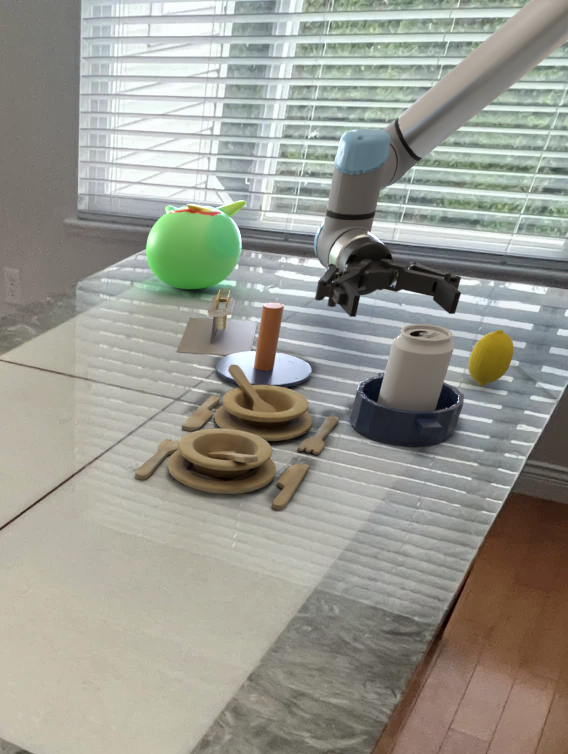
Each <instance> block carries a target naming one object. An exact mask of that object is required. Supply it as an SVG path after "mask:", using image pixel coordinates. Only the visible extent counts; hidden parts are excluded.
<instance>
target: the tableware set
mask: <svg viewBox="0 0 568 754" xmlns="http://www.w3.org/2000/svg"><path fill="white" fill-rule="evenodd" d="M228 371H229V373H230V375H231V376H232V377H233V379H234V380H235V381H236V382H237V384H236V385H238V386H239V387H236V388H232V389H230V390H229V391H227V392H226V393H225V394H224V395H223V397H222V405H221V406H219V407H218V408H217V409H216V410H215V412H214V413H213V412H212V411H211V410H212V409H213V408H215V406H217V405H219V403H220V399H221V398H220V395H219V396H218V395H211V396H208V398H207V399H206V400H205V401H204V402H203V403H202V404H201V405H200V406H199V407H197V409H196V410H195V411H194V412H193V413H192V414H191V415H190V416H189V417H188V418H187V419H186V420H185V421H184V422H183V423H182V424H181V430H183V431H187V432H189V433H187V434H185V435H184V436H183V437H181V438H180V439H179V440H176V439H173V440H172V439H171V438H164V440H162V441H161V442H160V443H159V444H158V445H157V450H158V451H157V452H156V453H154V455H152V456H151V457H150V458H149V459H148V460H146V461H145V462H144V463H143V464H142V465H140V466H139V467H138V468H137V469H136V470H135V472H134V478H135V479H137V480H141V481H142V480H143V481H144V480H148V479H149V477H151V476H152V474H153V473H154V472H155V471H156V469H157V468H158V467H159V466H160V464H161V463H162V462H163V461H164V460H165V459H166V458H167V457H168V456H169V458H168V460H167V468H168V471H169V472H168V473H169V474H170V475H171V476H172V477H173V478H174V479H175V480H177V481H178V482H179V483H181V484H182V485H185V486H186V487H189V488H191V489H194V490H199V491H202V492H206V493H211V494H222V495H231V494H232V495H233V494H234V495H235V494H246V493H251V492H255V491H257V490H259V489H263V488H265V487H266V486H267V485H269V484H270V483H271V482H272V481H273V480H274V478H275V475H276V470H277V468H276V464H275V462H274V461H273V459H272V458H271V457H272V455H273V447H272V446H271V445H270V443H269V442H281V441H287V440H291V439H295V438H297V437H298V438H299V437H300V436H303V435H304V434H306V433H307V432H309V430H310V429H311V428H312V425H313V418H312V416H311V414H310V413H309V412H308V410H309V406H310V404H309V403H310V402H309V401H308V399H307V398H306V396H304V395H303V394H301V393H300V392H298V391H296V390H293V389H290V388H288V387H279V386H272V385H251V383H250V382H249V380H248V379H247V377H246V376H245V374H244V373H243V371H242V370H241V368H240V367H239V366H238V365H234V364H233V365H230V366H229V369H228ZM213 414H214V415H213ZM213 416H214V421H215V423H216V425H217V426H218V427H219V428H204V429H200V428H202V427H203V426H204V425H205V424H206V423H207V422H208V421H209V420H210V419H211V418H212V417H213ZM339 421H340V418H339V417H338V416H334V415H328V416H327V417H326V418H325V419H324V421H323V422H322V423H321V424H320V427H319V428H318V429H317V430H316V433H315V434H314V436H312V437H310V438H306V439H304V440H302V441H301V443H300V444H298V446H297V448H296V449H297V451H299V452H304V451H305V453H307V454H310V453H312V454H313V455H316V456H319V454H321V452H323V450H324V449H325V446H326V445H325V442H324V441H323V440H324V439H325V438H327V437H328V435H329V434H331V432H332V431H333V430H334V429H335V428H336V427H337V425H338V424H339ZM309 468H310V465H308V464H305V463H294V464H292V465H291V466H289V467H288V468H287V469H286V470H284V472H283V473H282V475H281V476H280V478H279V479H278V481H277V482H276V483H277V486H278V487H279V488H280V489H282V490H281V491H280V492H279V493H278V494H277V496H275V498H274V499H273V500H272V502H271V508H272V509H273V510H275V511H276V510H277V511H282V510H284V509H285V508H286V506H287V505H288V503H289V502H290V500H291V499H292V497H293V495H294V494H295V492H296V491H297V489H298V488H299V486H300V484H301V483H302V481H303V480H304V478H305V477H306V476H307V473H308V472H309Z"/></svg>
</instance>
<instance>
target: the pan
mask: <svg viewBox="0 0 568 754" xmlns="http://www.w3.org/2000/svg"><path fill="white" fill-rule="evenodd" d="M384 374H385V372H378V375H377V376H372V377H369V378H366V379H365V380H364V381H361V382H360V383H358V386H357V389H356V393H355V397H354V401H353V406H352V410H351V414H350V418H349V419H350V420H349V422H350V425H351V427H352V429H353V430H355V431H356V433H358V434H360V435H362V436H364V437H366V438H367V439H370V440H373V441H376V442H379V443H383V444H387V445H392V446H400V447H415V448H416V447H429V446H433V445H434V446H435V445H439V444H441V443H444V442H446V441H448V440H449V439H450V438H451V437H452V436H453V434H454V433H455V430H456V428H457V425H458V421H459V418H460V415H461V412H462V409H463V406H464V403H465V402H464V401H465V395H464V394H463V393H462V392H461V390H459V388H457V387H455V386H453V385H451V384H449V383H446V382H445V381H444V383H443V386H442V389H441V392H440V396H439V399H438V402H437V406H436V409H435V411H409V410H401V409H395V408H392V407H388V406H385V405H381V404H378V403H377V401H378V397H379V393H380V390H381V386H382V382H383V378H384Z"/></svg>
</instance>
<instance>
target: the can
mask: <svg viewBox="0 0 568 754" xmlns="http://www.w3.org/2000/svg"><path fill="white" fill-rule="evenodd" d="M453 336H454V334H453V332H452V331H451V330H450V329H448V328H446V327H444V326H440V325H435V324H430V323H429V324H427V323H414V324H409V325H405V326H403V327H402V328H401V329H400V334H399V335H398V336H396V337H395V338H393V340H392V344H391V347H390V350H389V355H388V358H387V361H386V362H387V363H386V367H385V370H384V373H385V374H384V378H383V382H382V386H381V390H380V393H379V397H378V401H377V403H378V404H381V405H385V406H388V407H392V408H395V409H401V410H409V411H435V409H436V406H437V402H438V399H439V396H440V392H441V389H442V386H443V383H444V382H445V379H446V376H447V372H448V369H449V367H450V363H451V359H452V357H453V353H454V350H455V344H454V343H453V341H452V338H453Z"/></svg>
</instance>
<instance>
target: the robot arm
mask: <svg viewBox="0 0 568 754" xmlns="http://www.w3.org/2000/svg"><path fill="white" fill-rule="evenodd" d="M566 42H568V0H529V1H528V2H527V3H526V4H525V5H523V7H522V8H520V9H519V10H518V11H517V12H516V13H515V14H513V15H512V16H511V17H510V18H508V20H507V21H506V22H504V23H503V24H502V25H501V26H499V28H498V29H496V30H495V31H494V32H493V33H492V34H491V35H490V36H489V37H487V38H485V40H484V41H483V42H482V43H480V44H479V45H478V46H477V47H476V48H475V49H473V51H471V52H470V53H469V54H468V55H467V56H466V57H465V58H463V59H462V60H461V61H460V62H459V63H458V64H456V65H455V66H454V67H453V68H452V69H451V70H450V71H449V72H447V73H446V74H445V75H444V76H443V77H442V78H440V80H438V81H437V82H436V83H435V84H434V85H433V86H432V87H430V88H429V89H428V90H427V91H426V92H425V93H423V95H421V96H420V97H419V98H417V100H416V101H414V102H413V103H412V104H411V105H409V107H408V108H407V109H406V110H404V111H403V112H402V113H401V114H400V115H399V116H398V117H396V118H395V119H394V120H393V121H391V123H389V124H387V126H386V127H384V128H383V129H374V128H373V129H371V128H359V129H353V130H351V129H350V130H348V131H345V132H344V133H343V134H342V135H341V137H340V139H339V143H338V147H337V151H336V155H335V157H334V167H333V173H332V178H331V184H330V191H329V195H328V201H327V206H326V207H327V208H326V212H325V216H324V220H323V222H322V223H321V224H320V226H319V227H318V229H317V230H316V232H315V234H314V237H313V250H314V254H315V255H316V257H317V259H318V261H319V264H320V265H322V266H323V268H325V271H324V272H323V274H322V276H321V277H320V278H319V279H318V281H317V286H316V291H315V296H314V300H316V301H323V300H324V299H325V298H328V299H327V305H326V306H327V307H329V308H334V307H336V306H337V305H339V306H340V307H341V308H342V310H343V311H344V312H345V313H346V314H347V316H349V317H350V318H356V317H357V313H358V307H359V303H360V299H361V296H366V295H370V294H373V293H374V292H376V291H383V290H385V291H390V292H394V293H397V292H400V291H407V292H410V293H415V294H419V295H425V296H429V297H433V298H432V300H433V301H434V302H435V303H436V304H437V305H438V306H439V307H441V308H442V309H443V310H444V311H445V312H447V313H448V314H449V315H456V311H457V309H458V304H459V301H460V298H461V295H462V292H461V291H460V290H459V286H460V283H461V279H462V276H459V275H456V274H453V272H451V271H450V272H447V271H443V270H439V269H436V268H433V267H430V266H426V265H424V264H422V263H420V262H419V261H415V260H412V261H410V262H409V266H408V265H407V264H402V263H397V262H394V259H393V255H392V252H391V250H390V248H389V247H388V245H386V244H385V243H384V242H382V241H381V240H380V239H379V238H378V237H376V236H375V235H374V234H372V228H373V224H374V219H375V216H376V210H377V206H378V202H379V197H380V194H381V193H380V192H382V191H383V190H385V189H386V188H388V187H390V186H392V185H394V184H395V183H396V182H398V181H399V180H400V179H402V178H403V177H404V176H405V174H406V173H407V172H408V171H410V170H411V169H412V168H413V167H414V166H416V165H418V163H419V162H420V161H421V160H423V159H424V158H425V157H427V156H428V155H429V154H431V152H432V151H434V150H435V149H436V148H438V147H439V146H440V145H441V144H443V142H445V141H446V140H448V138H450V137H451V136H452V135H453V134H454V133H456V132H457V131H458V130H459V129H461V128H462V127H463V126H464V125H466V124H467V123H468V122H469V121H470V120H472V119H473V118H474V117H475V116H477V115H478V114H479V113H481V112H482V111H483V110H484V109H485V108H486V107H488V106H489V105H490V104H491V103H493V102H494V101H495V100H497V99H498V98H499V97H500V96H501V95H503V94H504V93H505V92H506V91H507V90H508V89H510V88H511V87H512V86H514V85H515V84H516V83H518V82H519V81H520V80H521V79H522V78H524V77H525V76H526V75H527V74H529V72H531V71H532V70H533V69H534V68H536V67H537V66H538V65H540V64H541V63H542V62H543V61H544V60H546V59H547V58H548V57H550V56H551V55H552V54H553V53H554V52H555V51H557V50H558V49H559V48H560V47H562V46H563V45H564V44H565V43H566ZM394 283H395V284H394Z"/></svg>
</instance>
